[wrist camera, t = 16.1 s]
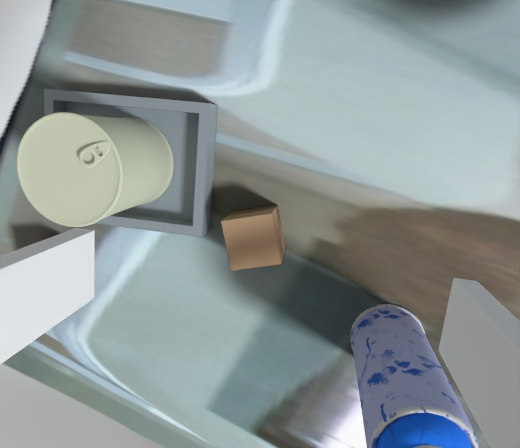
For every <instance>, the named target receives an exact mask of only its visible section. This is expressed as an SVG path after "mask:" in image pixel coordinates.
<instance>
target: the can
mask: <svg viewBox="0 0 520 448" xmlns="http://www.w3.org/2000/svg"><path fill="white" fill-rule="evenodd" d="M173 169H174V161H173V154H172V150H171V147H170V145H169V143H168V141H167V139H166V138H165V136H164V135H163V134H162V132H161V131H160V130H159V129H158V128H156V127H155V126H154V125H152V124H151V123H149V122H147V121H145V120H143V119H139V118H135V117H124V118H111V117H100V116H89V115H79V114H76V113H71V112H58V113H52V114H49V115H46V116H44V117H42V118H40V119H39V120H37V121H36V122H34V123H33V124H32V125H31V126H30V127H29V128H28V130H27V131H26V132H25V134H24V136H23V137H22V140H21V142H20V145H19V148H18V152H17V173H18V178H19V182H20V185H21V187H22V190H23V192H24V194H25V196H26V197H27V199H28V200H29V202H30V203H31V204H32V206H33V207H34V208H35V209H36V210H37V211H38V212H39V213H41V214H42V215H43V216H45V217H46V218H48V219H49V220H51V221H53V222H55V223H58V224H61V225H65V226H71V227H82V226H87V225H91V224H94V223H96V222H98V221H100V220H101V219H103V218H106V217H108V216H111V215H113V214H115V213H118V212H121V211H123V210H126V209H128V208H131V207H134V206H137V205H142V204H146V203H149V202H151V201H153V200H155V199H157V198H158V197H159V196H160V195H162V194H163V192H164V191H165V190H166V189H167V187H168V185H169V183H170V181H171V178H172V175H173Z"/></svg>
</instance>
